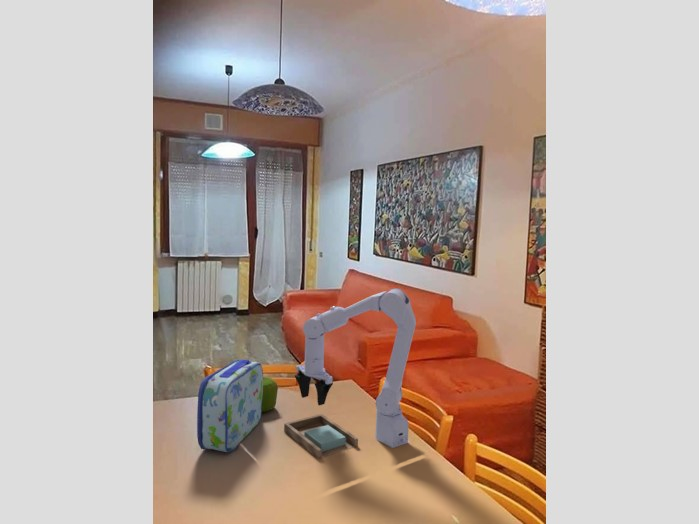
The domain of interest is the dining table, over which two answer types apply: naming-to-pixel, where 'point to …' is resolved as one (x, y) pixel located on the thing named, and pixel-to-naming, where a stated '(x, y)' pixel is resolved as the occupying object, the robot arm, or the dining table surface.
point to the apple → (269, 394)
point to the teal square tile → (325, 437)
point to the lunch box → (229, 405)
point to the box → (300, 426)
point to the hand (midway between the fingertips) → (313, 400)
